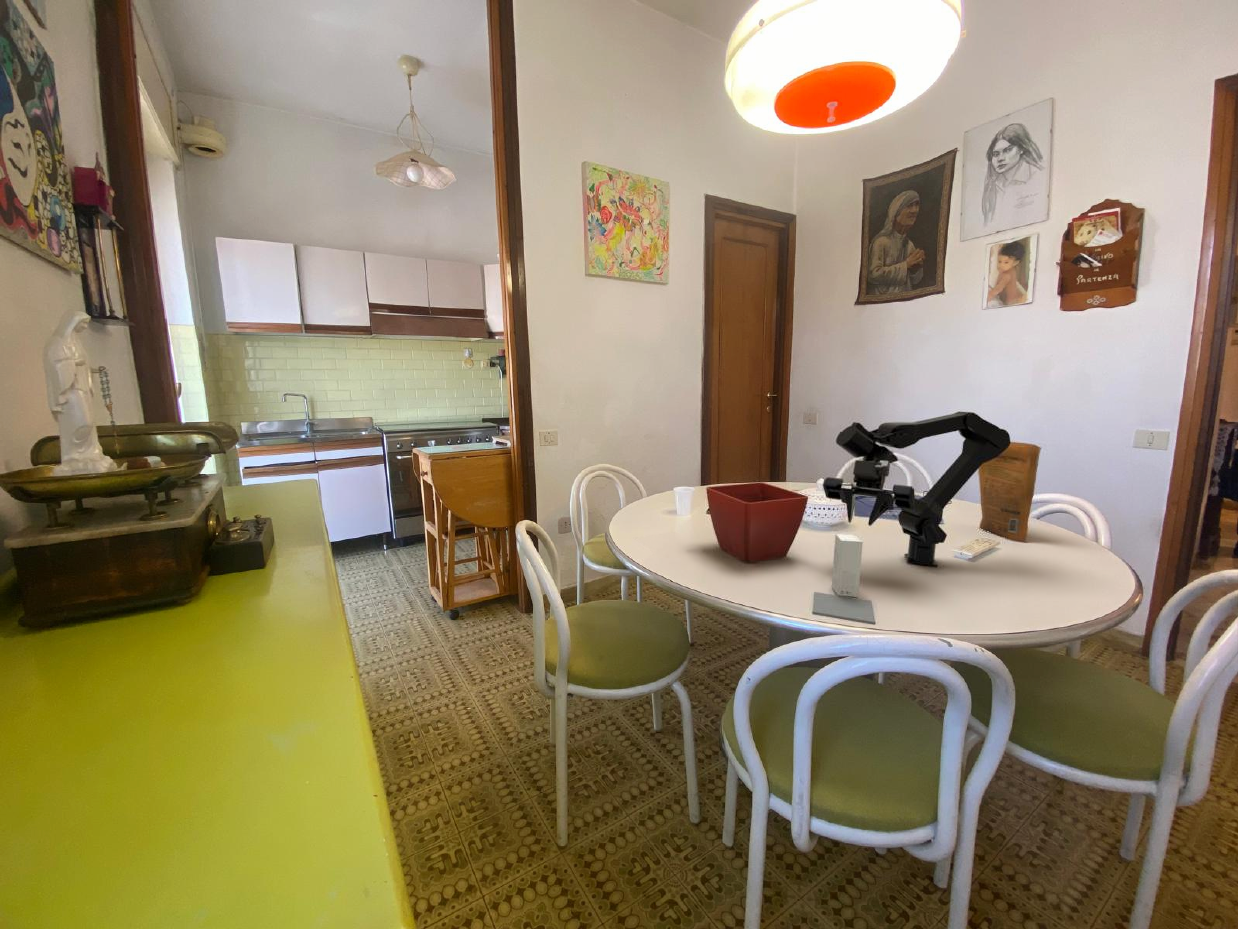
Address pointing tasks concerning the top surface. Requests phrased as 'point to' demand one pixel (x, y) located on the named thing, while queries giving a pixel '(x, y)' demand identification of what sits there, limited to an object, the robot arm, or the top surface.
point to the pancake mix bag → (1009, 490)
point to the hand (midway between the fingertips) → (859, 523)
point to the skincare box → (847, 565)
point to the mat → (843, 607)
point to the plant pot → (755, 519)
